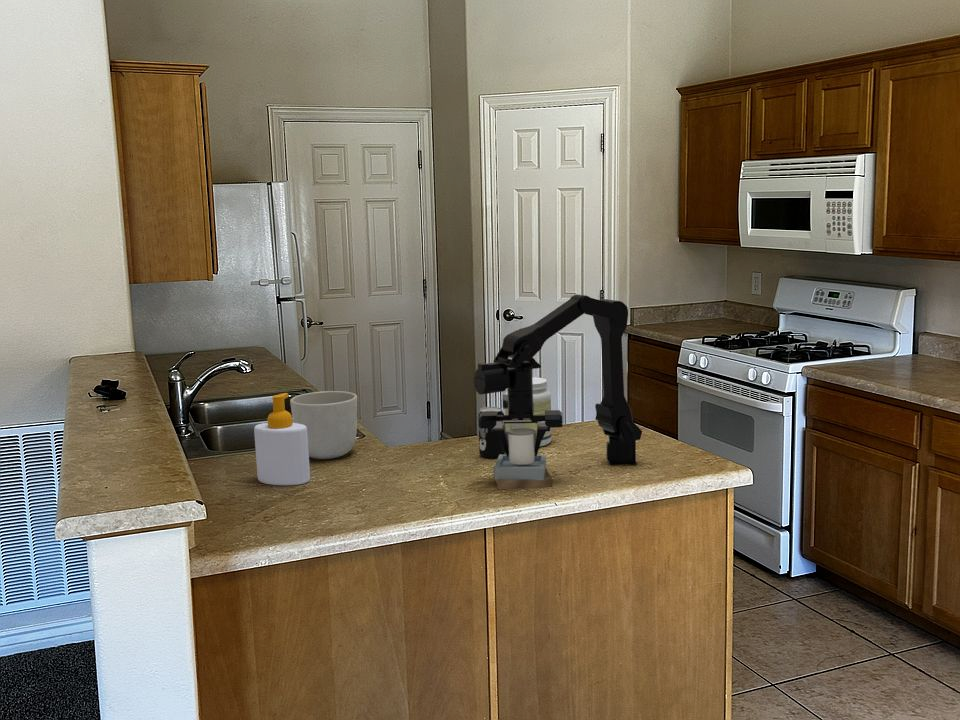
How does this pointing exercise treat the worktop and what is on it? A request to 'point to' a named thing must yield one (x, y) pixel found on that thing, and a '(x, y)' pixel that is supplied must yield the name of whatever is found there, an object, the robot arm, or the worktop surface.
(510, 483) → the slab bottom
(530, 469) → the slab top
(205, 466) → the worktop surface
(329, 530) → the worktop surface
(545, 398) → the supplement tub
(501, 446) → the beverage can
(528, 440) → the shot glass
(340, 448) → the planter
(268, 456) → the soap bottle
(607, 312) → the robot arm
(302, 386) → the worktop surface
